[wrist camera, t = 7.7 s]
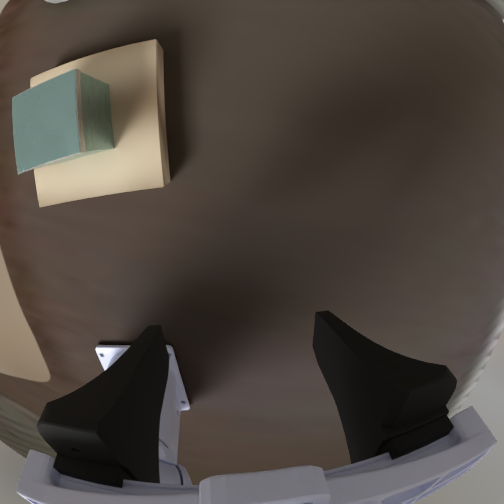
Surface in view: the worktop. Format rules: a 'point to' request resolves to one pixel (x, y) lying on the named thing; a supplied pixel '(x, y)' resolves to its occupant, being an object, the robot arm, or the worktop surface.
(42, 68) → the worktop surface
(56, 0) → the can
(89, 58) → the beige square slab
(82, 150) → the tin
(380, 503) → the robot arm
